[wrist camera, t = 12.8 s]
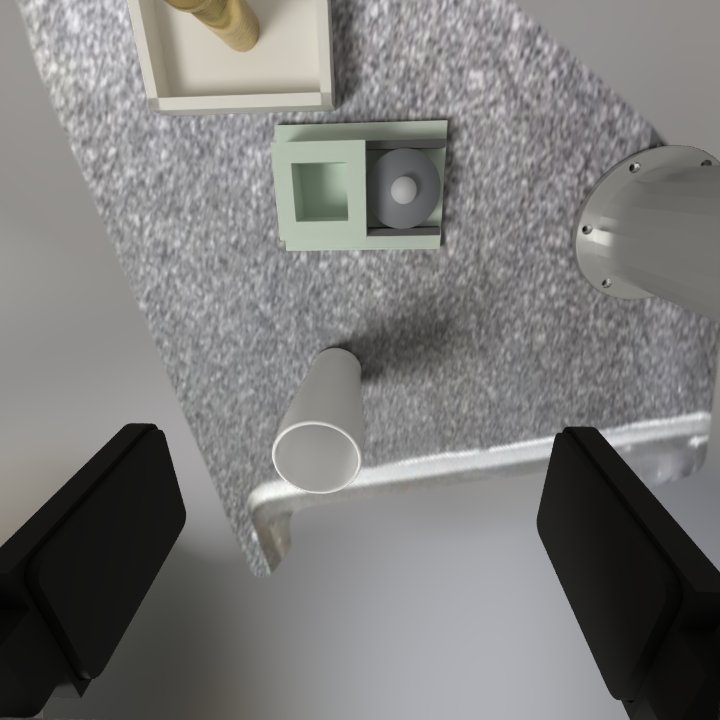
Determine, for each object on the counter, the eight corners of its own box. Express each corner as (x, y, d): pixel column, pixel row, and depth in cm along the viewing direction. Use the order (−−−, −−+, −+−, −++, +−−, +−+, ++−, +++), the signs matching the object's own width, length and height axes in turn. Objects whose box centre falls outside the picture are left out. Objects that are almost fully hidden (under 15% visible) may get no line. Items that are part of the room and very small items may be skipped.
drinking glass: (335, 326, 40) (312, 403, 27) (381, 369, 42) (382, 461, 29) (292, 368, 43) (251, 458, 29) (338, 407, 44) (320, 509, 31)
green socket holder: (446, 121, 32) (456, 113, 28) (438, 247, 37) (446, 256, 32) (276, 126, 33) (261, 119, 29) (288, 249, 37) (276, 259, 33)
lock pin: (261, -7, 29) (206, -93, 20) (267, 57, 31) (219, 5, 21) (210, -4, 29) (132, -88, 20) (219, 59, 31) (150, 8, 22)
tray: (328, -74, 28) (322, -101, 25) (335, 110, 32) (331, 104, 30) (134, -63, 28) (108, -88, 26) (168, 116, 33) (150, 110, 30)
